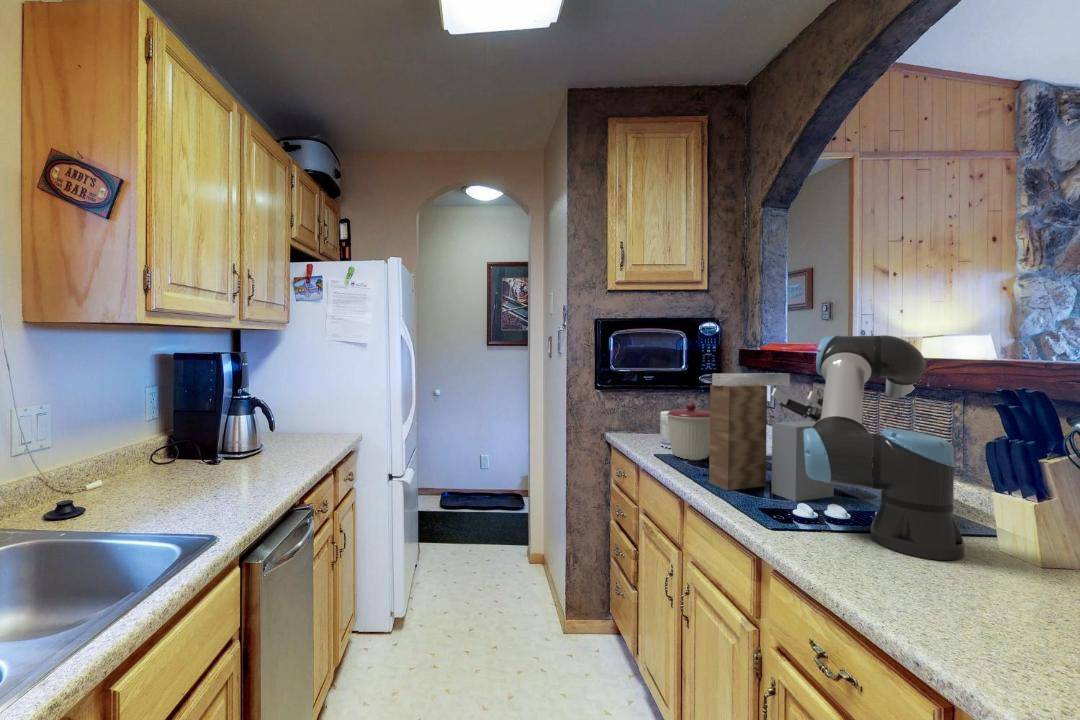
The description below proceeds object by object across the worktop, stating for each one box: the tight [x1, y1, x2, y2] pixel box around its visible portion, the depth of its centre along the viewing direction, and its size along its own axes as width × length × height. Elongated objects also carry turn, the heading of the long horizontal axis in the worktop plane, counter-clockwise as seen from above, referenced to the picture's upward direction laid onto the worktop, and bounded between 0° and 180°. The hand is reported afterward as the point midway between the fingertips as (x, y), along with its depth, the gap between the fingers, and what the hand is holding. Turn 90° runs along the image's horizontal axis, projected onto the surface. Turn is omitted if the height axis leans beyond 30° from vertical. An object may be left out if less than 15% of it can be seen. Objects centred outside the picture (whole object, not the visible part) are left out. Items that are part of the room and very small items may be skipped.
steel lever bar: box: [711, 372, 791, 386], centre depth 142 cm, size 25×4×4 cm, turn 105°
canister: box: [666, 401, 710, 461], centre depth 177 cm, size 18×18×21 cm
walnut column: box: [708, 384, 768, 491], centre depth 141 cm, size 14×8×30 cm, turn 110°
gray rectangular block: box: [770, 420, 835, 502], centre depth 131 cm, size 14×8×20 cm, turn 110°
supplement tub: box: [659, 410, 671, 446], centre depth 197 cm, size 10×10×15 cm
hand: (790, 393), depth 148 cm, fingers open, 13 cm apart
